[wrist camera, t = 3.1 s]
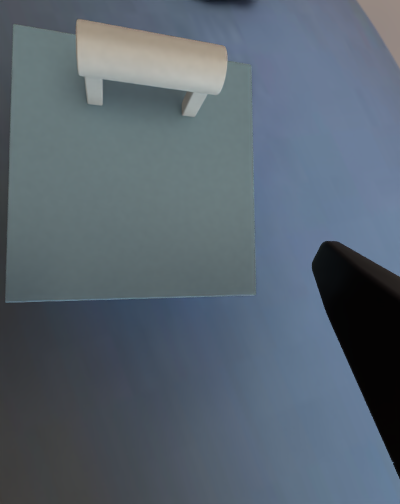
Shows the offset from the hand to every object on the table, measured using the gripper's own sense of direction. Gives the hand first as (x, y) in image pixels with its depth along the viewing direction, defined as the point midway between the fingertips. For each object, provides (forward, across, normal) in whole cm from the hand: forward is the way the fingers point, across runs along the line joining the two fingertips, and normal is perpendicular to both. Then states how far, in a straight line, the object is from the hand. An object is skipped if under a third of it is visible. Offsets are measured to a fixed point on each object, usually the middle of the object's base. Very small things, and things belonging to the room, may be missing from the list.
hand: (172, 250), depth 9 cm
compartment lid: (+9, 0, +2) cm, 9 cm away
